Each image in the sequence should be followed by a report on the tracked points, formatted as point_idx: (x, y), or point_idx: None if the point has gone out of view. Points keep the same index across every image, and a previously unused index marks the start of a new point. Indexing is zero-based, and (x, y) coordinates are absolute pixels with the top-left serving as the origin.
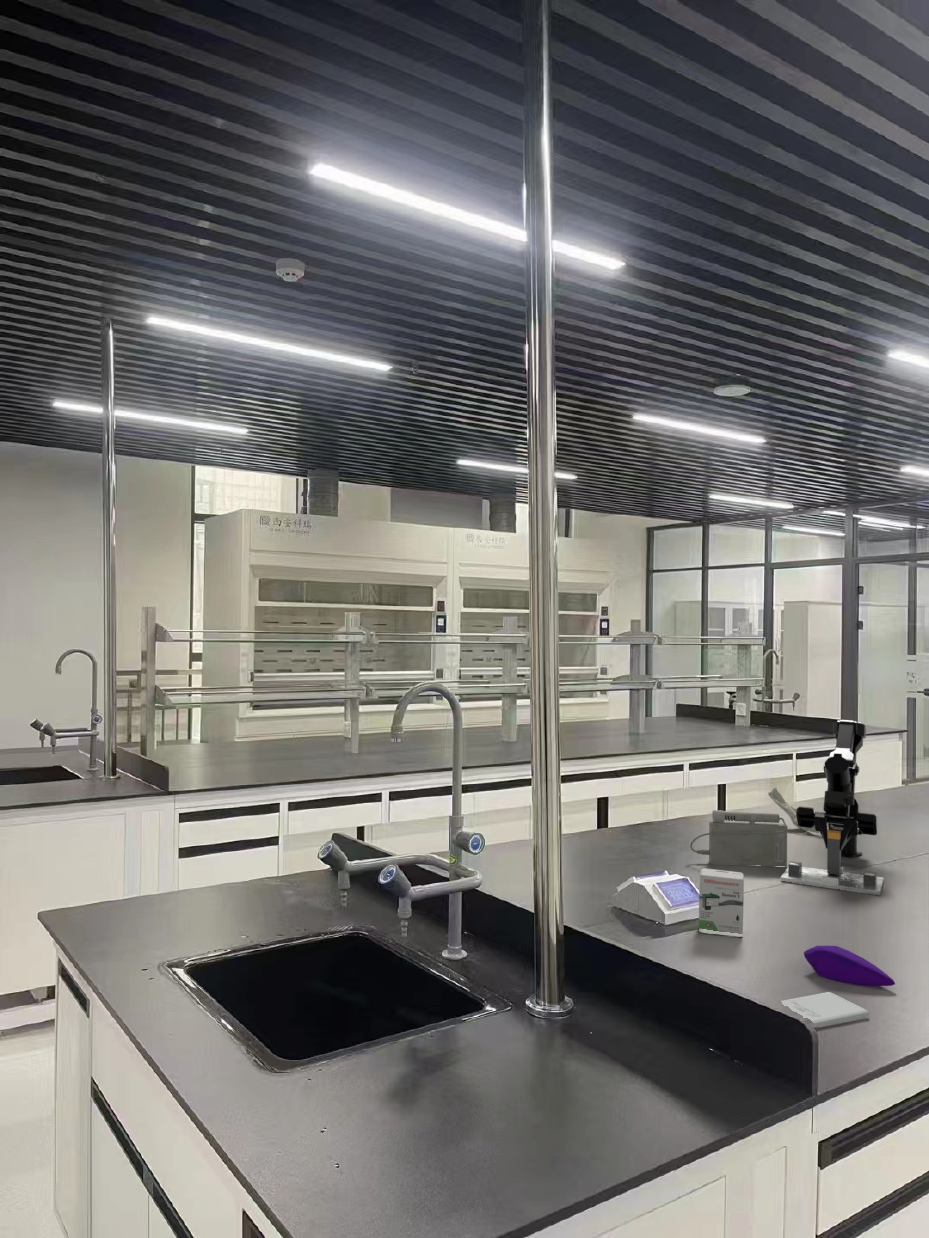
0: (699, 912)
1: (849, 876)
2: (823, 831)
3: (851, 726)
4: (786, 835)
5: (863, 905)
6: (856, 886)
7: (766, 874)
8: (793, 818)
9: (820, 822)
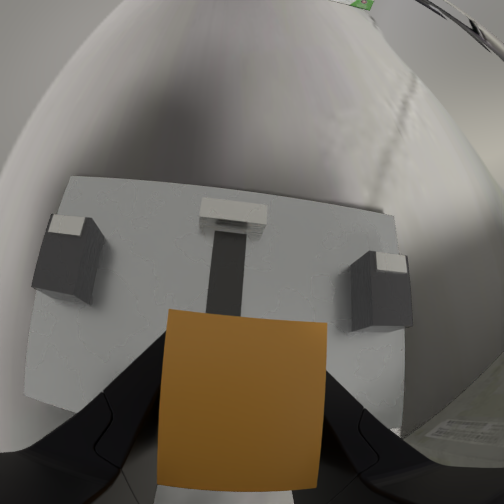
0: None
1: None
2: (368, 424)
3: None
4: (498, 457)
5: (150, 85)
6: (135, 199)
7: (436, 290)
8: None
9: (460, 473)
